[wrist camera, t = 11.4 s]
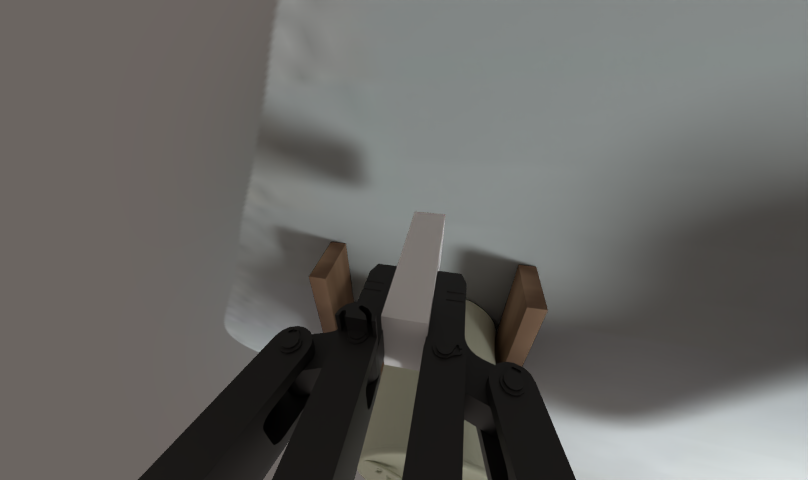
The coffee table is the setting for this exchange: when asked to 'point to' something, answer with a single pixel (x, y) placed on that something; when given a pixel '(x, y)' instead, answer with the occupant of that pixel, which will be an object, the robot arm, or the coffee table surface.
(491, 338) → the can
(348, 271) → the bay
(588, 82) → the coffee table surface
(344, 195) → the coffee table surface
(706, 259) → the coffee table surface
